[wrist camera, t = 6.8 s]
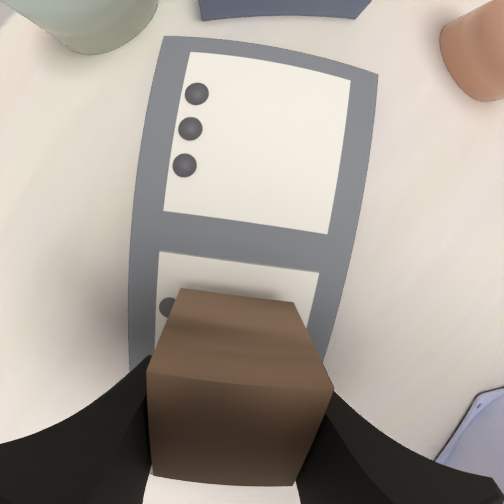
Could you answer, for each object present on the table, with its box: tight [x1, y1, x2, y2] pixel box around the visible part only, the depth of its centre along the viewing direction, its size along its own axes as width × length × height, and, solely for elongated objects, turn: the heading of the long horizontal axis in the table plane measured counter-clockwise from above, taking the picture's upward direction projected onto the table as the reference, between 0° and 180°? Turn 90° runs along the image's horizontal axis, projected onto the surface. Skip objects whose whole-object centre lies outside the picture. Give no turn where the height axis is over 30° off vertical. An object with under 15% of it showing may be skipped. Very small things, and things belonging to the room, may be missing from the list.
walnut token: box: [146, 288, 334, 486], centre depth 9 cm, size 4×4×5 cm
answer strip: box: [128, 36, 378, 475], centre depth 13 cm, size 24×9×1 cm, turn 171°
